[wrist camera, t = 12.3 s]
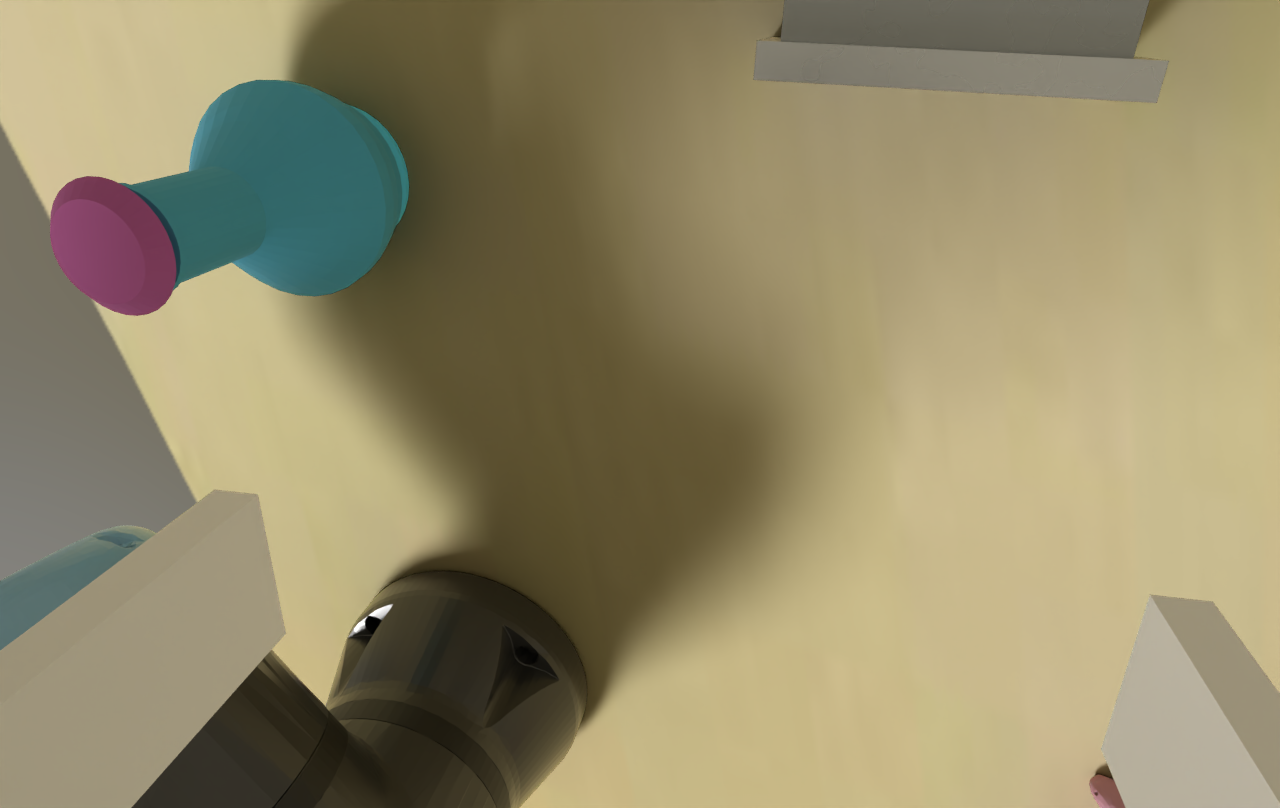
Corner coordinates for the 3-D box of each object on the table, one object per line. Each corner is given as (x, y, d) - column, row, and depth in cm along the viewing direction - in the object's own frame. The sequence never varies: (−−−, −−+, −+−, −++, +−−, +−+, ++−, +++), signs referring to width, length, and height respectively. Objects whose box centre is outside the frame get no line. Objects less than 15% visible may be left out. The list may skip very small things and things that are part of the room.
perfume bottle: (361, 34, 37) (91, 41, 23) (469, 220, 39) (280, 321, 26) (223, 131, 40) (-81, 187, 27) (331, 297, 43) (102, 421, 29)
